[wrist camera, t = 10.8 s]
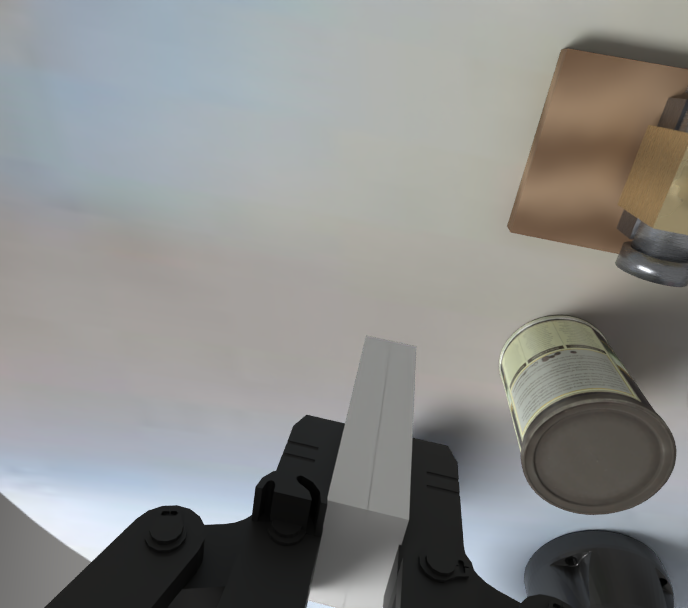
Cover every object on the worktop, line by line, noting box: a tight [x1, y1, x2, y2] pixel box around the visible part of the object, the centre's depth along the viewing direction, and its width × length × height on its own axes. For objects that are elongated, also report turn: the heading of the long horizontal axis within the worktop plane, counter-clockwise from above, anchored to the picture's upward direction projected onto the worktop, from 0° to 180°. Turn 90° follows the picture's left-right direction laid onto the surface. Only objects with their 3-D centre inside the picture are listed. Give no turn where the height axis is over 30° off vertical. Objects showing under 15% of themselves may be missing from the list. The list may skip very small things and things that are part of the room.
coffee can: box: [499, 315, 676, 515], centre depth 43 cm, size 10×10×14 cm
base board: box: [507, 48, 688, 254], centre depth 41 cm, size 14×20×2 cm
